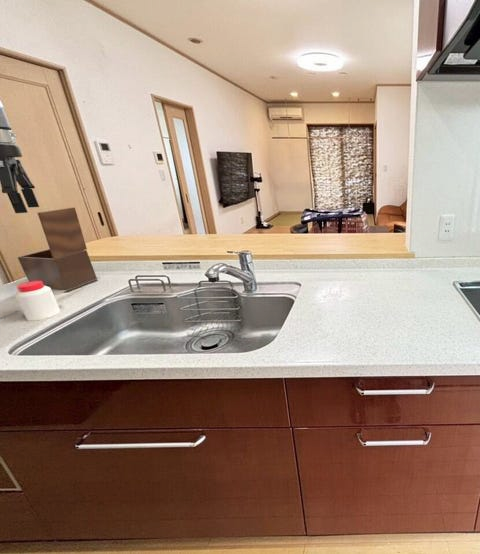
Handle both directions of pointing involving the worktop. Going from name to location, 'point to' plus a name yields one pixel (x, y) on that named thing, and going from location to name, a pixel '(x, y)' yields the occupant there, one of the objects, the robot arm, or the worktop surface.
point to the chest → (59, 269)
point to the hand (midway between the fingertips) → (28, 210)
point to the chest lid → (62, 231)
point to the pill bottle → (36, 301)
